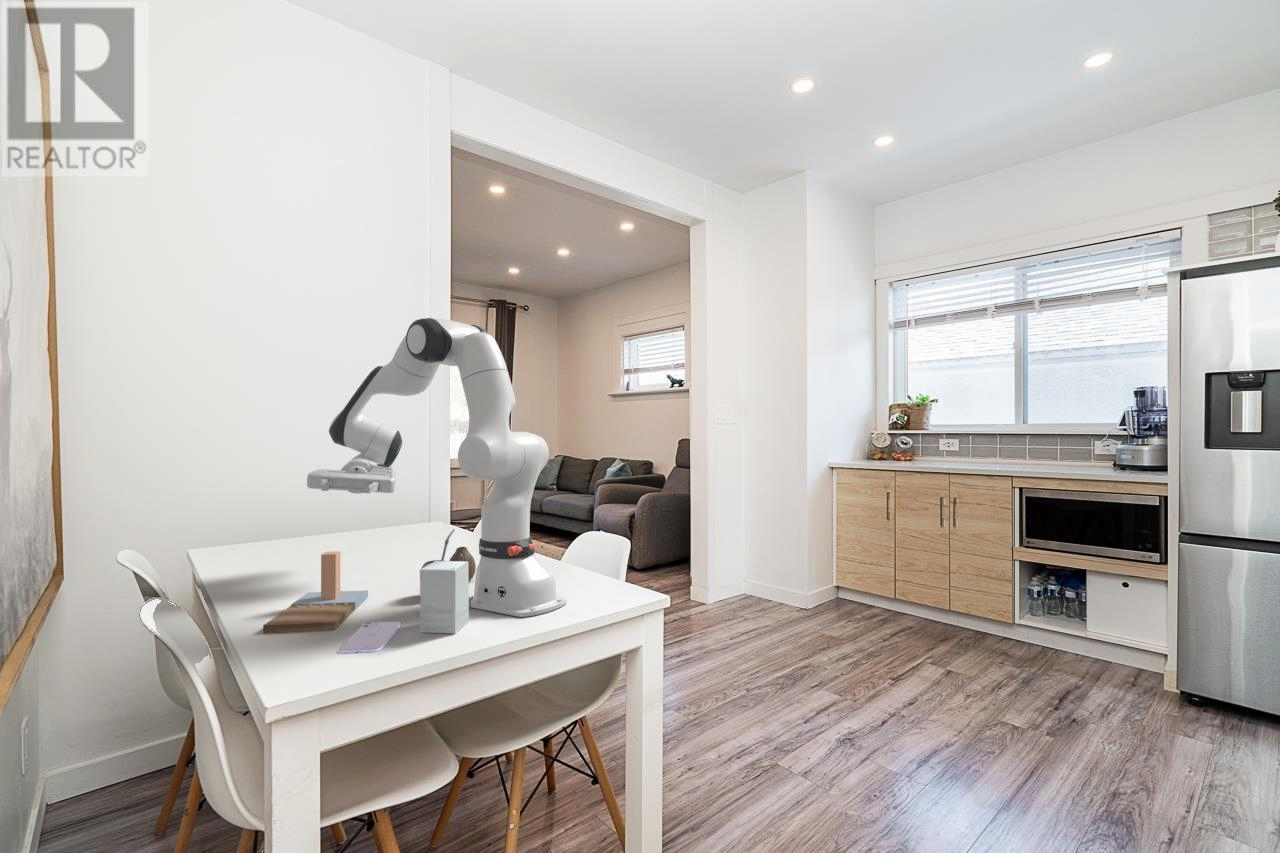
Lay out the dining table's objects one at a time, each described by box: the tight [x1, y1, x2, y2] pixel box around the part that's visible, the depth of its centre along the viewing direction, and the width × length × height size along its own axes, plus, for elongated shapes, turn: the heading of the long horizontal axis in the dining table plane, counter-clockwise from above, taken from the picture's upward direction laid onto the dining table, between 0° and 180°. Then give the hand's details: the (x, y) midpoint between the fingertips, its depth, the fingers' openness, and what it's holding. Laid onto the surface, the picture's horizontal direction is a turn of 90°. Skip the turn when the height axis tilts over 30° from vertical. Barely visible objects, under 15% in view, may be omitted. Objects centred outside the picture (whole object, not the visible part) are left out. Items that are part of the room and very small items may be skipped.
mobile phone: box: [337, 621, 402, 655], centre depth 112 cm, size 8×1×15 cm
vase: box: [448, 546, 477, 582], centre depth 151 cm, size 7×7×9 cm
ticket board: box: [262, 603, 356, 634], centre depth 120 cm, size 12×13×2 cm
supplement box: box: [419, 560, 470, 634], centre depth 117 cm, size 7×7×13 cm
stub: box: [290, 550, 369, 610], centre depth 131 cm, size 9×13×12 cm
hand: (345, 488), depth 141 cm, fingers open, 8 cm apart
